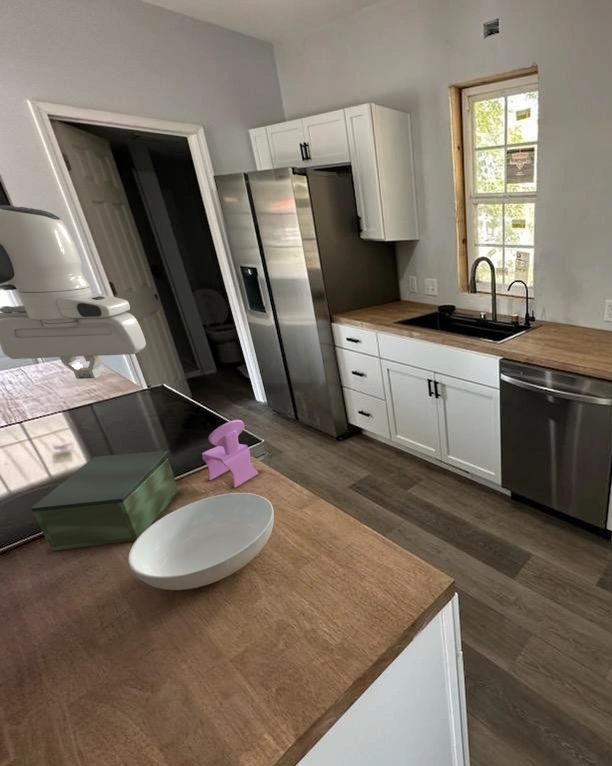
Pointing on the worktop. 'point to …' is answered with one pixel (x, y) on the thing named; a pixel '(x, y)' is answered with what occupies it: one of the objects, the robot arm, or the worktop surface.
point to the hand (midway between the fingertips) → (89, 377)
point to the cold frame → (110, 515)
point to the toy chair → (229, 453)
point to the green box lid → (103, 481)
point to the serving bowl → (202, 541)
